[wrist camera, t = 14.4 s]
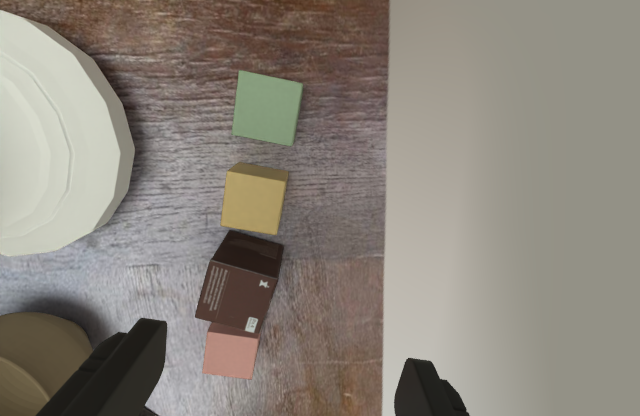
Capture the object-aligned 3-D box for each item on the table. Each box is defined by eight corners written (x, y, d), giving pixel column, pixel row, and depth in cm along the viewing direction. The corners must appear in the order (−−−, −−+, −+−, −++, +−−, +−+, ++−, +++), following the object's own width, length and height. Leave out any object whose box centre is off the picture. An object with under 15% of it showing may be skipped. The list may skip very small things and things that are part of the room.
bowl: (-17, 295, 36) (-136, 363, 26) (100, 279, 36) (24, 342, 26) (28, 389, 39) (-62, 478, 30) (134, 374, 39) (78, 460, 30)
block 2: (289, 171, 33) (285, 181, 28) (280, 218, 34) (276, 235, 30) (238, 161, 33) (226, 170, 28) (232, 209, 34) (219, 226, 29)
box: (229, 227, 34) (209, 257, 27) (285, 244, 35) (279, 278, 28) (215, 277, 36) (192, 318, 29) (268, 293, 37) (259, 336, 30)
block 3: (264, 309, 37) (258, 339, 33) (258, 346, 39) (251, 380, 34) (220, 303, 37) (207, 331, 32) (215, 340, 38) (202, 373, 33)
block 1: (303, 87, 31) (302, 83, 26) (294, 141, 32) (291, 146, 27) (249, 76, 30) (238, 69, 26) (242, 131, 32) (231, 134, 27)
